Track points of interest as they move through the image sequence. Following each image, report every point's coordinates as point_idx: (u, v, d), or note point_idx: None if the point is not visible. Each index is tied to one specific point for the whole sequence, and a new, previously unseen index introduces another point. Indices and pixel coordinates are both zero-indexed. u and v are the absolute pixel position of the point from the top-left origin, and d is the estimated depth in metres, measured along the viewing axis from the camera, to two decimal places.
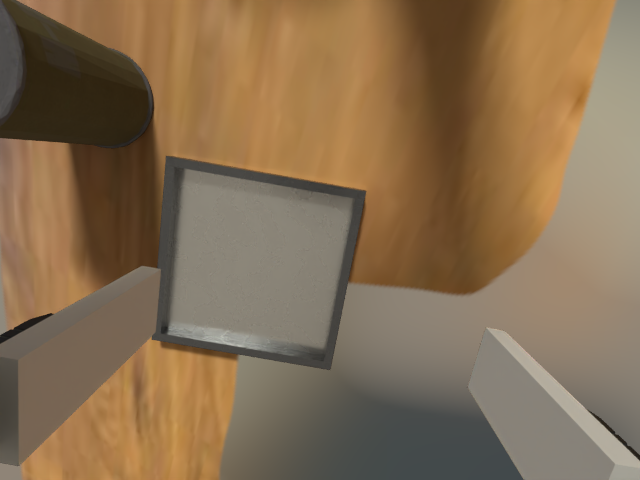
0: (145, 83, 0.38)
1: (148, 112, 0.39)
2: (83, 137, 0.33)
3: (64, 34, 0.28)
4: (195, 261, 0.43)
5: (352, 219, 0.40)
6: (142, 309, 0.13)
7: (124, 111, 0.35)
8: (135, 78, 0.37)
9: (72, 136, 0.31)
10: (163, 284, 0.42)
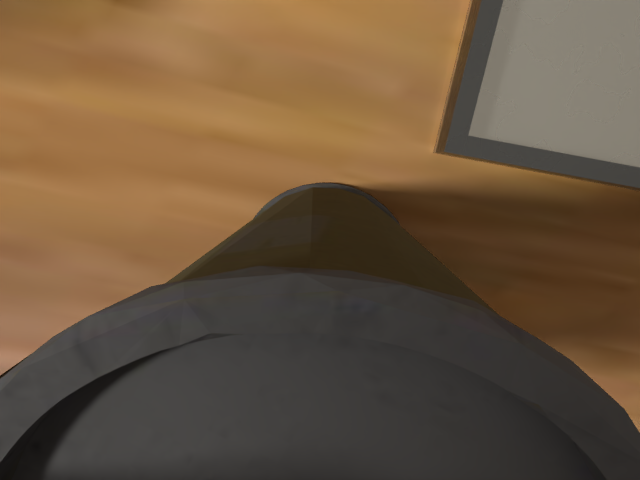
0: (298, 190, 0.20)
1: (350, 191, 0.20)
2: None
3: (214, 248, 0.10)
4: None
5: None
6: None
7: (367, 203, 0.16)
8: (292, 195, 0.19)
9: None
10: None
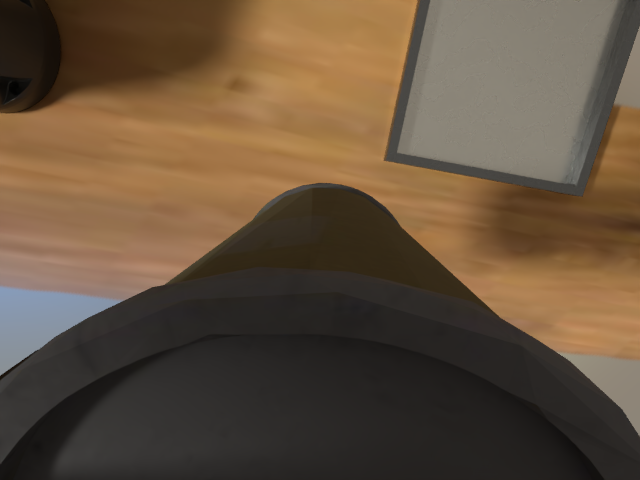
0: (298, 190, 0.20)
1: (350, 191, 0.20)
2: None
3: (214, 248, 0.10)
4: (494, 145, 0.40)
5: None
6: None
7: (366, 204, 0.16)
8: (292, 195, 0.19)
9: None
10: (519, 176, 0.39)
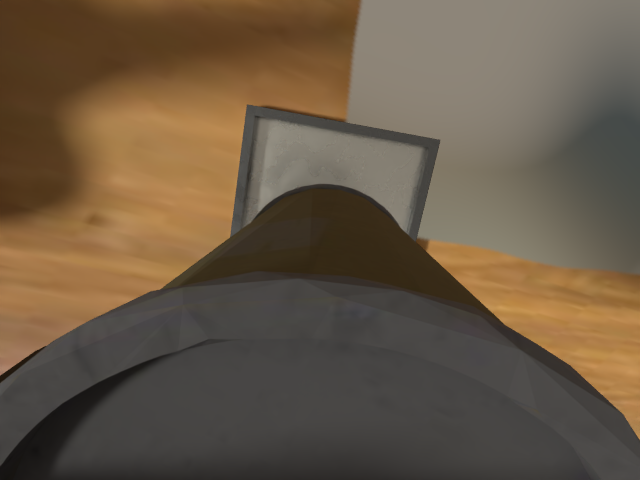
0: (298, 191, 0.20)
1: (350, 192, 0.20)
2: None
3: (213, 250, 0.10)
4: None
5: (275, 117, 0.40)
6: None
7: (367, 205, 0.16)
8: (291, 196, 0.19)
9: None
10: None
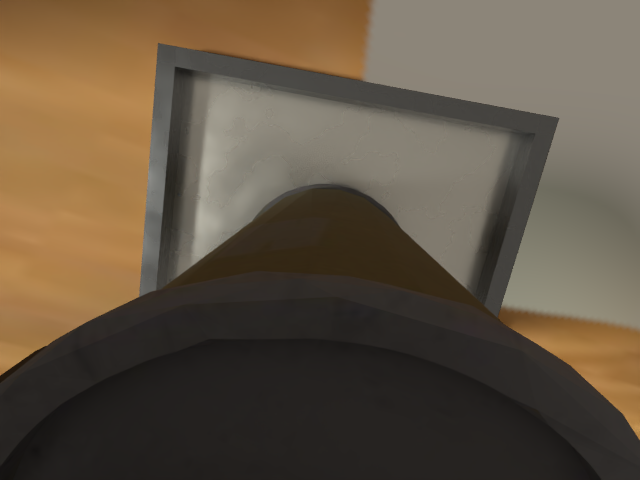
0: (297, 191, 0.20)
1: (350, 192, 0.20)
2: None
3: (213, 250, 0.10)
4: None
5: (217, 71, 0.19)
6: None
7: (366, 205, 0.16)
8: (291, 196, 0.19)
9: None
10: None
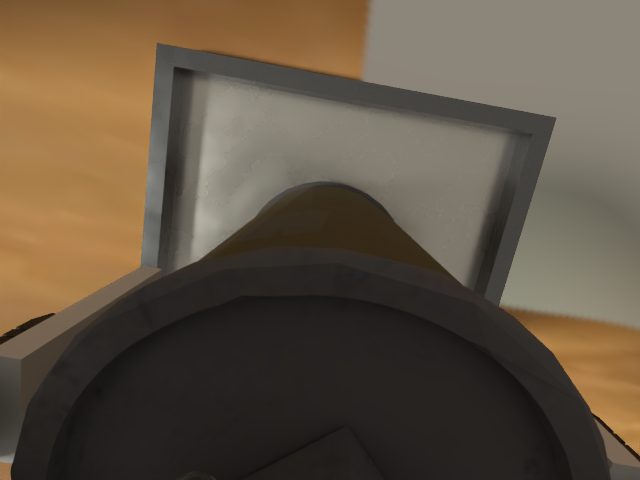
0: (298, 188, 0.21)
1: (348, 189, 0.21)
2: None
3: (226, 240, 0.11)
4: None
5: (215, 71, 0.19)
6: None
7: (363, 200, 0.17)
8: (293, 193, 0.20)
9: None
10: None
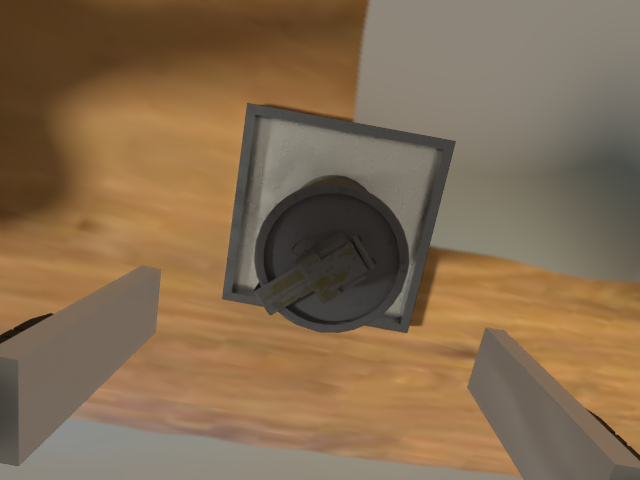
0: (319, 178, 0.39)
1: (346, 179, 0.39)
2: None
3: None
4: None
5: (277, 117, 0.37)
6: (142, 309, 0.13)
7: (352, 183, 0.35)
8: (317, 180, 0.38)
9: None
10: None
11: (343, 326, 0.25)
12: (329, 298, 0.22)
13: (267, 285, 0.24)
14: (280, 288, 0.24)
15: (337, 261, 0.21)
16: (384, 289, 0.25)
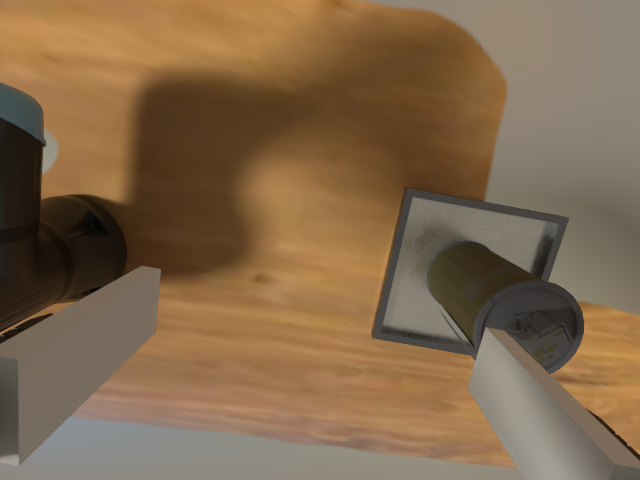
0: (456, 244, 0.50)
1: (478, 244, 0.50)
2: None
3: (476, 273, 0.39)
4: (454, 323, 0.53)
5: (429, 199, 0.48)
6: (142, 309, 0.13)
7: (496, 254, 0.45)
8: (460, 248, 0.48)
9: None
10: (472, 350, 0.52)
11: None
12: (542, 362, 0.32)
13: None
14: None
15: (551, 338, 0.32)
16: None
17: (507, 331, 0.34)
